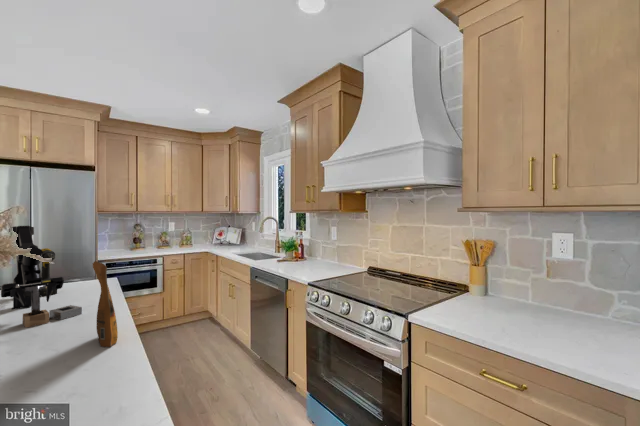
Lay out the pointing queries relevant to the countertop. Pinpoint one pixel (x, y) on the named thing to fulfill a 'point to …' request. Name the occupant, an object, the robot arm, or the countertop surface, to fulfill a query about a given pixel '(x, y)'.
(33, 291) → the chuck key
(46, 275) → the cordless drill
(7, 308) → the countertop surface
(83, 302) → the countertop surface
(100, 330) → the curved wooden sculpture
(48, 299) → the robot arm
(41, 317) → the wooden square frame
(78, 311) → the block
